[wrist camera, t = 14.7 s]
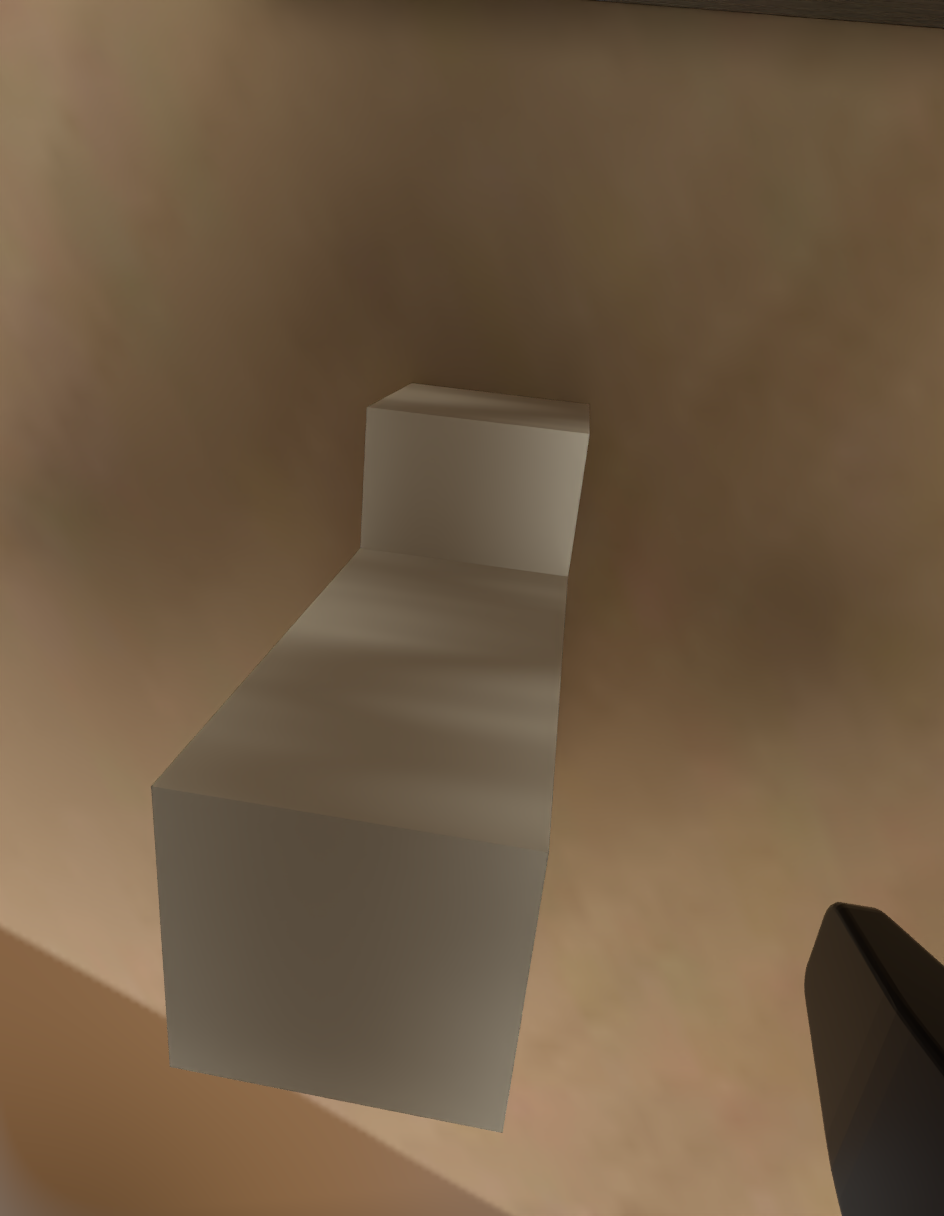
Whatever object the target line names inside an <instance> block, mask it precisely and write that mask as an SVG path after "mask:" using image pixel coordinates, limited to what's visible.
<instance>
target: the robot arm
mask: <svg viewBox="0 0 944 1216" xmlns="http://www.w3.org/2000/svg"><path fill="white" fill-rule="evenodd" d="M804 989H805V1000H806V1006H807V1013H808V1020H809V1027H810V1034H811V1041H812V1048H813V1054H814V1061H815V1068H816V1075H817V1082H818V1089H819V1095H820V1102H821V1109H822V1116H823V1123H824V1130H825V1137H826V1143H827V1149H828V1155H829V1160H830V1166H831V1171H832V1176H833V1180H834V1185H835V1189H836V1193H837V1198H838V1202H839V1206H840V1210H841V1214H842V1216H944V966H943V965H942V964H941V963H940V962H939V961H938V960H937V959H936V958H934V957H933V956H932V955H931V954H930V953H929V952H928V951H927V950H925V949H924V948H923V947H922V946H921V945H920V944H919V943H918V942H916V941H915V940H914V939H913V938H912V937H911V936H910V935H909V934H907V933H906V932H905V931H904V930H903V929H902V928H901V927H900V926H899V925H897V924H896V923H895V922H894V921H893V920H892V919H891V918H890V917H888V916H887V915H886V914H885V913H883V912H882V911H880V910H878V909H876V908H872V907H866V906H860V905H854V904H848V903H842V902H837V903H834V904H832V905H830V907H829V908H828V909H827V911H826V913H825V915H824V918H823V921H822V924H821V927H820V929H819V932H818V935H817V938H816V941H815V944H814V947H813V950H812V952H811V955H810V958H809V961H808V964H807V967H806V972H805V982H804Z"/></svg>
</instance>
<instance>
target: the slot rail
mask: <svg viewBox="0 0 944 1216" xmlns="http://www.w3.org/2000/svg"><path fill="white" fill-rule="evenodd" d="M598 1H611V2H623V3H636V4H648V5H661V6H673V7H686V8H698V9H711V10H724V11H736V12H749V13H761V14H774V15H786V16H799V17H812V18H824V19H837V20H849V21H862V22H874V23H887V24H899V25H912V26H925V27H937V28H944V0H598Z"/></svg>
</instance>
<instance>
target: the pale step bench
mask: <svg viewBox="0 0 944 1216" xmlns="http://www.w3.org/2000/svg"><path fill="white" fill-rule="evenodd" d="M589 435H590V421H589V404H585V403H576V402H568V401H559V400H551V399H542V398H534V397H525V396H516V395H508V394H499V393H491V392H482V391H474V390H465V389H457V388H448V387H440V386H431V385H423V384H414V383H411V384H409V385H407V386H405V387H404V388H402V389H400V390H398V391H396V392H394V393H392V394H390V395H389V396H387V397H385V398H383V399H381V400H379V401H377V402H375V403H374V404H372V405H370V406H368V407H367V413H366V435H365V457H364V479H363V500H362V522H361V544H360V549H359V550H358V551H357V552H356V554H355V555H354V556H353V557H352V558H351V559H350V560H349V562H348V563H347V564H346V565H345V566H344V567H343V568H342V570H341V571H340V572H339V573H338V574H337V575H336V576H335V578H334V579H333V580H332V581H331V582H330V583H329V584H328V586H327V587H326V588H325V589H324V590H323V591H322V592H321V593H320V595H319V596H318V597H317V598H316V599H315V600H314V601H313V603H312V604H311V605H310V606H309V607H308V608H307V609H306V611H305V612H304V613H303V614H302V615H301V616H300V617H299V619H298V620H297V621H296V622H295V623H294V624H293V625H292V626H291V628H290V629H289V630H288V631H287V632H286V633H285V634H284V636H283V637H282V638H281V639H280V640H279V641H278V642H277V644H276V645H275V646H274V647H273V648H272V649H271V650H270V652H269V653H268V654H267V655H266V656H265V657H264V658H263V660H262V661H261V662H260V663H259V664H258V665H257V666H256V667H255V669H254V670H253V671H252V672H251V673H250V674H249V675H248V677H247V678H246V679H245V680H244V681H243V682H242V683H241V685H240V686H239V687H238V688H237V689H236V690H235V691H234V693H233V694H232V695H231V696H230V697H229V698H228V699H227V700H226V702H225V703H224V704H223V705H222V706H221V707H220V708H219V710H218V711H217V712H216V713H215V714H214V715H213V716H212V718H211V719H210V720H209V721H208V722H207V723H206V724H205V726H204V727H203V728H202V729H201V730H200V731H199V732H198V734H197V735H196V736H195V737H194V738H193V739H192V740H191V741H190V743H189V744H188V745H187V746H186V747H185V748H184V749H183V751H182V752H181V753H180V754H179V755H178V756H177V757H176V759H175V760H174V761H173V762H172V763H171V764H170V765H169V767H168V768H167V769H166V770H165V771H164V772H163V773H162V774H161V776H160V777H159V778H158V779H157V780H156V781H155V782H154V784H153V785H152V786H151V789H152V804H153V820H154V835H155V850H156V865H157V880H158V895H159V910H160V925H161V940H162V955H163V970H164V985H165V1000H166V1015H167V1029H168V1045H169V1059H170V1067H174V1068H179V1069H184V1070H189V1071H194V1072H199V1073H204V1074H209V1075H214V1076H219V1077H224V1078H229V1079H234V1080H239V1081H244V1082H250V1083H254V1084H259V1085H264V1086H270V1087H274V1088H280V1089H284V1090H289V1091H294V1092H299V1093H304V1094H310V1095H315V1096H320V1097H325V1098H330V1099H335V1100H340V1101H345V1102H350V1103H355V1104H360V1105H365V1106H370V1107H375V1108H380V1109H385V1110H390V1111H395V1112H400V1113H405V1114H410V1115H415V1116H420V1117H425V1118H430V1119H435V1120H440V1121H445V1122H450V1123H455V1124H461V1125H466V1126H471V1127H476V1128H481V1129H486V1130H491V1131H496V1132H501V1133H502V1132H503V1126H504V1120H505V1114H506V1108H507V1102H508V1096H509V1090H510V1084H511V1078H512V1072H513V1066H514V1060H515V1054H516V1048H517V1042H518V1036H519V1029H520V1023H521V1017H522V1011H523V1005H524V999H525V993H526V987H527V981H528V975H529V969H530V963H531V957H532V951H533V945H534V939H535V933H536V927H537V921H538V914H539V908H540V902H541V896H542V890H543V884H544V878H545V872H546V866H547V860H548V854H549V842H550V827H551V813H552V799H553V784H554V770H555V756H556V741H557V727H558V713H559V698H560V684H561V670H562V655H563V641H564V627H565V612H566V598H567V584H568V573H569V567H570V560H571V553H572V547H573V540H574V534H575V527H576V521H577V514H578V507H579V501H580V494H581V488H582V481H583V474H584V468H585V461H586V455H587V448H588V442H589Z"/></svg>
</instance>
